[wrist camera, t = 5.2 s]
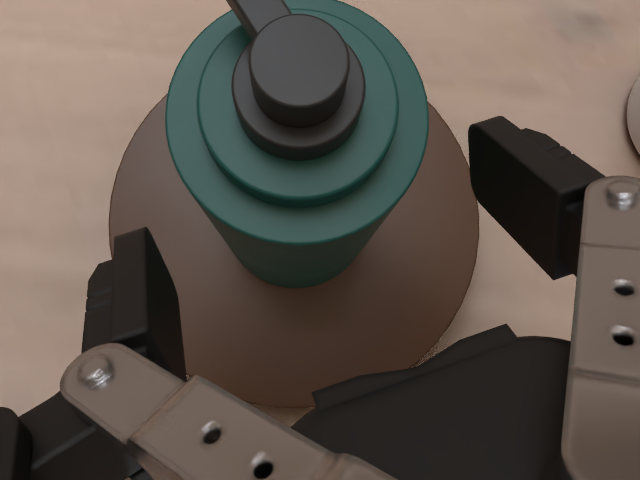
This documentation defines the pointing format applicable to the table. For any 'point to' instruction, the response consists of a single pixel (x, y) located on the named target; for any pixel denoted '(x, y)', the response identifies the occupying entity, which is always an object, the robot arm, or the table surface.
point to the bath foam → (634, 114)
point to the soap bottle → (301, 201)
